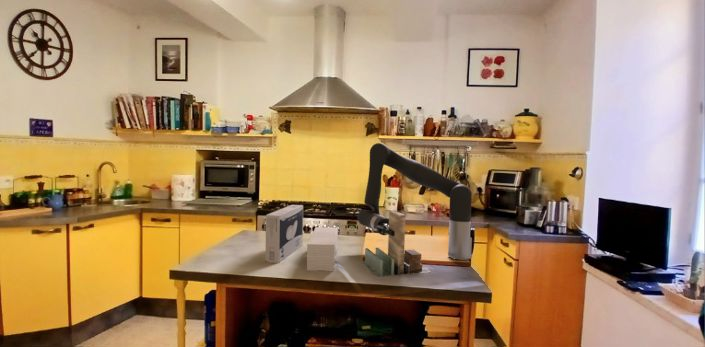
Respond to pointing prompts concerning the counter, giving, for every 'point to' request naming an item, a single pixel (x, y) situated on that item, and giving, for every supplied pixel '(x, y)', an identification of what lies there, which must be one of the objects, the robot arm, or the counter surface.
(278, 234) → the packaging
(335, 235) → the stack of papers
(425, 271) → the rack
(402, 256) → the birch panel
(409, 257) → the offcut stack
